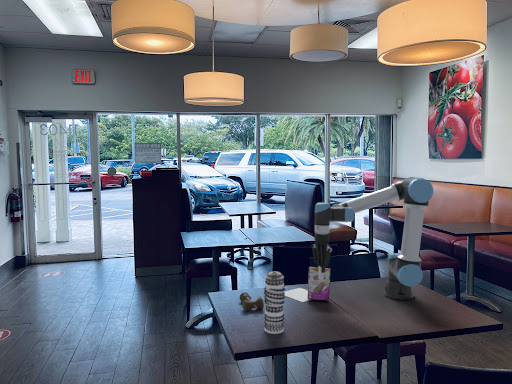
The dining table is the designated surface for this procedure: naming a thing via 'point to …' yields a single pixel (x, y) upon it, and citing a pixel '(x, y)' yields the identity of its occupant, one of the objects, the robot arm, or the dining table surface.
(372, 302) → the dining table surface
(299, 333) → the dining table surface
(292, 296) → the mat
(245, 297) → the kendama
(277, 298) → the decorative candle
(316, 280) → the candy bar box
